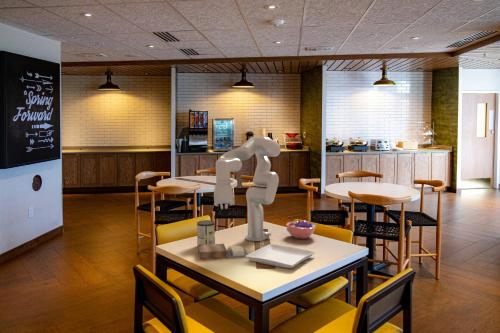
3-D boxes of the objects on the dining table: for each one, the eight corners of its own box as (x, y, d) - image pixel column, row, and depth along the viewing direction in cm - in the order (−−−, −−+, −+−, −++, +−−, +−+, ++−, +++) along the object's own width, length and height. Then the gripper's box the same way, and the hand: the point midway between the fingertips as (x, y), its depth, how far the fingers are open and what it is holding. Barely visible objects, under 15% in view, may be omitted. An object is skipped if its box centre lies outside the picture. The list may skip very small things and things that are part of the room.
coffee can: (202, 243, 252) (202, 219, 251) (218, 245, 248) (218, 221, 247) (193, 247, 243) (193, 223, 242) (209, 249, 239) (209, 225, 237)
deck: (223, 250, 237) (223, 243, 237) (226, 258, 224) (226, 250, 223) (198, 251, 235) (198, 244, 234) (199, 259, 221) (199, 252, 221)
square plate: (292, 272, 203) (292, 264, 203) (244, 262, 218) (244, 255, 217) (315, 257, 226) (315, 250, 226) (270, 249, 241) (270, 242, 240)
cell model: (301, 232, 278) (301, 215, 276) (321, 239, 261) (322, 221, 259) (280, 235, 269) (280, 218, 268) (299, 243, 252) (299, 224, 251)
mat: (244, 249, 240) (244, 248, 240) (249, 257, 225) (249, 256, 225) (225, 250, 238) (225, 249, 238) (228, 258, 223) (228, 258, 223)
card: (230, 246, 235) (230, 251, 235) (233, 251, 226) (233, 256, 226) (241, 246, 236) (241, 250, 236) (244, 251, 227) (244, 255, 228)
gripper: (235, 180, 236) (236, 213, 238) (208, 182, 233) (209, 215, 235) (238, 182, 229) (238, 216, 231) (210, 184, 226) (211, 218, 228)
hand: (224, 215), depth 233 cm, fingers closed
